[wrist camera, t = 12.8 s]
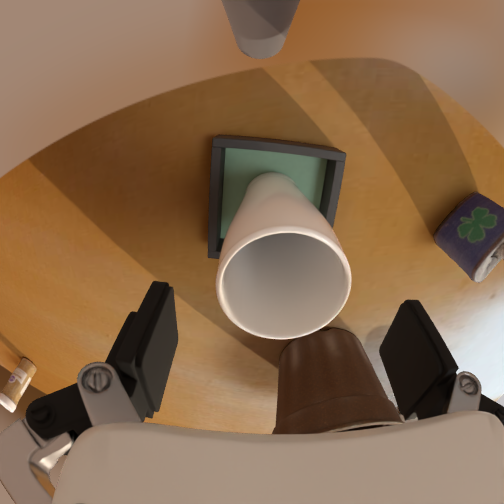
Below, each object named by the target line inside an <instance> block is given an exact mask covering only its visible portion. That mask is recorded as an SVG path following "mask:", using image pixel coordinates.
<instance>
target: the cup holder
mask: <svg viewBox="0 0 504 504" xmlns="http://www.w3.org/2000/svg"><path fill="white" fill-rule="evenodd" d="M345 159H346V153H345V152H343V151H341V150H339V149H337V148H333V147H327V146H321V145H315V144H308V143H301V142H294V141H286V140H277V139H268V138H258V137H246V136H233V135H217V136H215V137H214V138H213V139H212V153H211V171H210V193H209V220H208V258H215V259H219V258H220V253H221V249H222V245H223V241H224V238H225V235H226V232H227V230H228V228H229V225H230V223H231V221H232V219H233V217H234V215H235V213H236V211H237V209H238V207H239V205H240V203H241V201H242V199H243V197H244V193H245V190H246V188H247V186H248V185H249V183H250V182H251V181H252V180H253V179H254V178H256V177H257V176H259V175H261V174H263V173H267V172H278V173H282V174H285V175H287V176H288V177H290V178H291V179H292V180H293V181H294V182H295V183H296V184H297V186H298V187H299V189H300V190H301V191H302V192H303V194H304V195H305V196H306V197H307V198H308V199H309V200H310V201H311V202H312V203H313V204H314V205H315V207H316V208H317V209H318V210H319V211H320V212H321V213H322V215H323V216H324V217H325V219H326V220H327V221H328V223H329V224H330V226H331V227H332V228H333V224H334V219H335V214H336V209H337V204H338V199H339V194H340V188H341V183H342V177H343V172H344V166H345Z"/></svg>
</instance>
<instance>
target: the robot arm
mask: <svg viewBox="0 0 504 504" xmlns="http://www.w3.org/2000/svg"><path fill="white" fill-rule="evenodd" d="M177 344H178V330H177V321H176V312H175V301H174V290H173V287H169V284H168V283H167V282H159V281H153V282H152V284H151V286H150V288H149V290H148V292H147V294H146V296H145V298H144V300H143V302H142V304H141V306H140V308H139V309H138V311H137V312H133V311H132V312H130V314H129V315H128V317H127V319H126V321H125V323H124V325H123V327H122V329H121V331H120V333H119V335H118V337H117V339H116V341H115V343H114V345H113V347H112V349H111V351H110V353H109V355H108V357H107V359H106V361H105V363H104V362H93V363H90V364H88V365H86V366H85V367H83V368H82V369H81V371H80V372H79V374H78V377H77V383H75V384H73V385H71V386H68V387H66V388H63V389H61V390H58V391H56V392H53V393H51V394H48V395H46V396H44V397H41V398H38V399H36V400H34V401H33V402H32V403H31V404H30V405H29V406H28V408H27V410H26V418H24V419H23V420H21V419H20V418H19V419H18V420H17V421H15V422H14V423H13V424H11V425H10V426H9V427H8V428H6V429H5V430H4V431H3V432H1V433H0V481H1V483H2V485H3V486H4V488H5V489H6V491H7V492H8V494H9V495H10V497H11V498H12V500H13V501H14V502H15V504H504V407H503V406H501V405H500V404H498V403H496V402H495V401H493V400H491V399H489V398H488V397H486V396H484V395H483V394H481V384H480V382H479V380H478V378H477V377H476V376H475V375H473V374H472V373H470V372H465V371H463V372H460V373H459V374H458V375H457V374H456V371H457V370H458V366H457V364H456V362H455V360H454V358H453V357H452V355H451V353H450V351H449V349H448V348H447V346H446V344H445V342H444V341H443V339H442V337H441V335H440V334H439V332H438V330H437V329H436V327H435V325H434V324H433V322H432V320H431V319H430V317H429V315H428V314H427V312H426V311H425V309H424V308H423V306H422V304H421V303H420V302H419V300H406V301H404V303H402V304H401V305H400V307H399V310H398V312H397V314H396V316H395V318H394V320H393V322H392V324H391V326H390V328H389V330H388V332H387V334H386V336H385V338H384V340H383V342H382V344H381V346H380V350H379V353H380V356H381V359H382V362H383V364H384V367H385V370H386V373H387V375H388V378H389V381H390V384H391V387H392V390H393V393H394V396H395V399H396V402H397V405H398V408H399V411H400V413H401V415H403V416H404V419H405V421H408V420H412V419H415V418H416V417H417V418H418V420H417V421H413V422H408V423H403V424H397V425H391V426H385V427H379V428H372V429H364V430H356V431H346V432H335V433H320V434H248V433H233V432H221V431H210V430H201V429H193V428H185V427H178V426H170V425H162V424H155V423H143V422H144V420H145V417H148V418H153V414H154V411H155V412H158V411H159V409H160V405H161V402H162V398H163V394H164V390H165V387H166V383H167V379H168V376H169V372H170V368H171V365H172V361H173V358H174V354H175V351H176V347H177ZM62 455H67V458H66V460H65V462H64V465H63V467H62V470H61V473H60V476H59V479H58V482H57V486H56V489H55V488H54V487H53V485H52V484H51V482H50V477H49V474H50V470H51V468H52V467H53V466H54V465H55V464H57V463H58V461H57V459H58V458H60V457H61V456H62Z"/></svg>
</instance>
